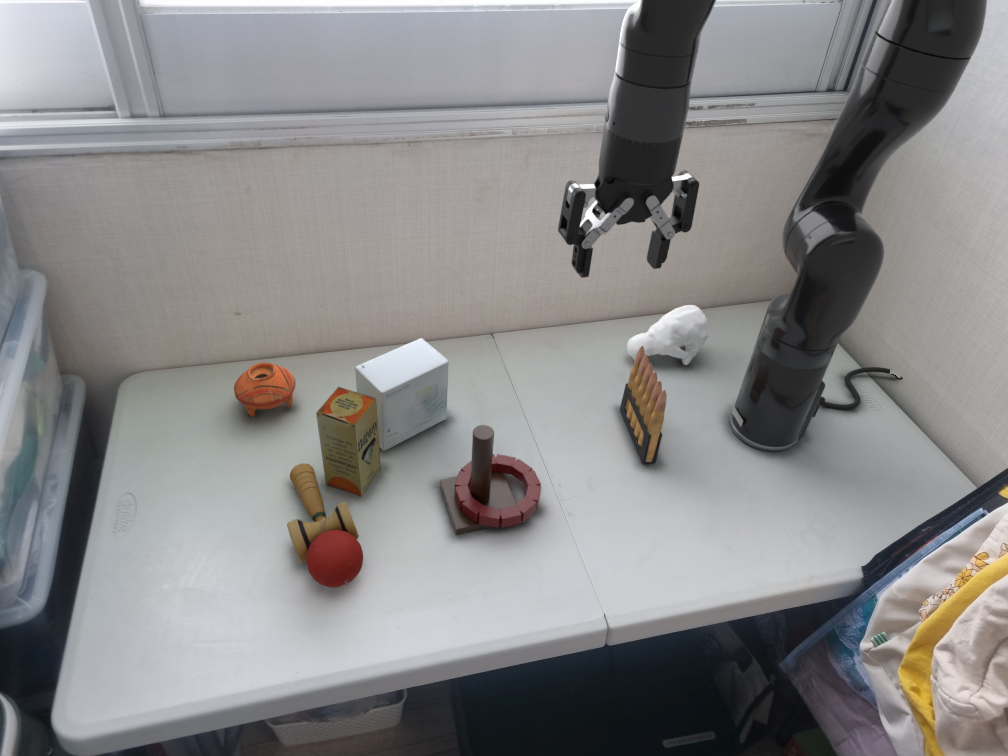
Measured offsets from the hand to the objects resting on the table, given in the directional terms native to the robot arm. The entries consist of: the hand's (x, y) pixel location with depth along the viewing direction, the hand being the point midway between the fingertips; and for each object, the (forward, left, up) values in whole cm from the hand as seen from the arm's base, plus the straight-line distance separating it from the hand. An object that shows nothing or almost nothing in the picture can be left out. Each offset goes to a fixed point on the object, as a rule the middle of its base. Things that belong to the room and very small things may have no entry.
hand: (618, 269), depth 83 cm
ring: (+14, +5, -27) cm, 31 cm away
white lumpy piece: (-19, -16, -28) cm, 38 cm away
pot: (+39, -19, -28) cm, 52 cm away
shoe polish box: (+30, -3, -28) cm, 41 cm away
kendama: (+35, +5, -28) cm, 45 cm away
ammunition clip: (-8, -1, -28) cm, 29 cm away
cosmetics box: (+22, -11, -28) cm, 37 cm away
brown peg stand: (+16, +5, -28) cm, 33 cm away
